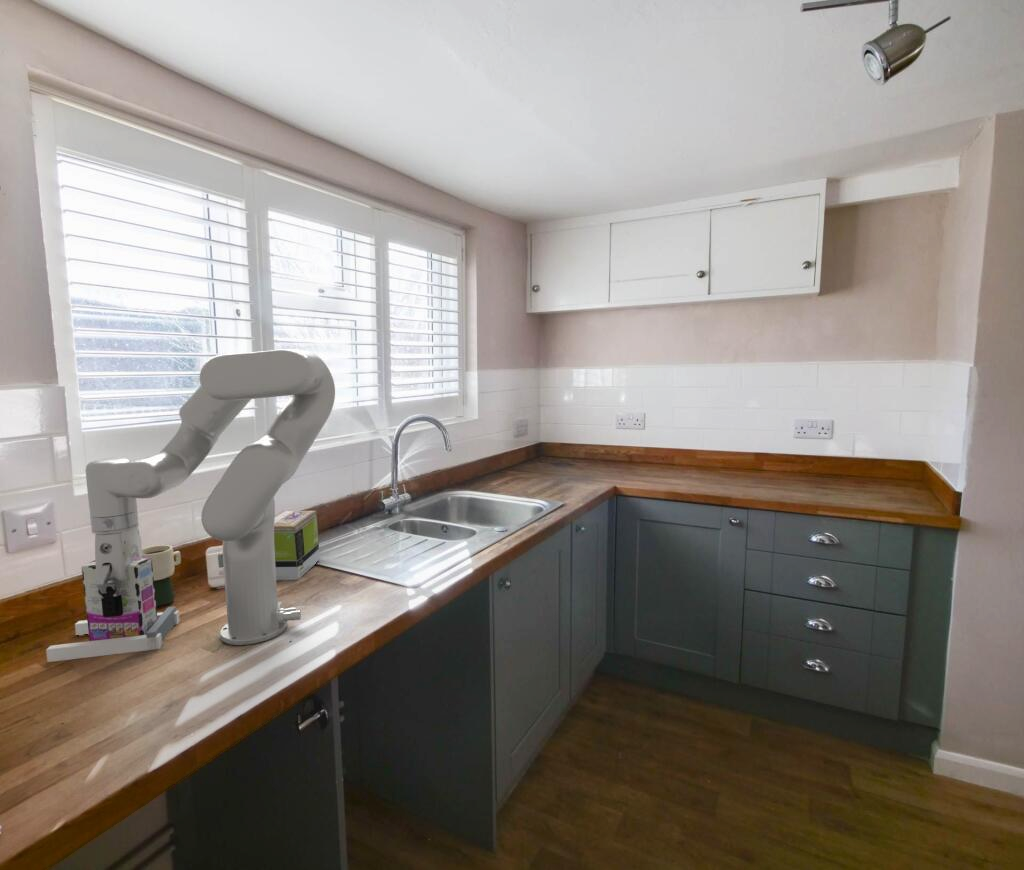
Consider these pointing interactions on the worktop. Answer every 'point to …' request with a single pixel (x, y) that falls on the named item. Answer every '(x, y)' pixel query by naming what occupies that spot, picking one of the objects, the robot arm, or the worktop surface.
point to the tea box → (295, 543)
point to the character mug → (162, 571)
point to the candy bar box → (134, 600)
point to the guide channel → (116, 640)
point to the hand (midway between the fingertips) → (123, 605)
